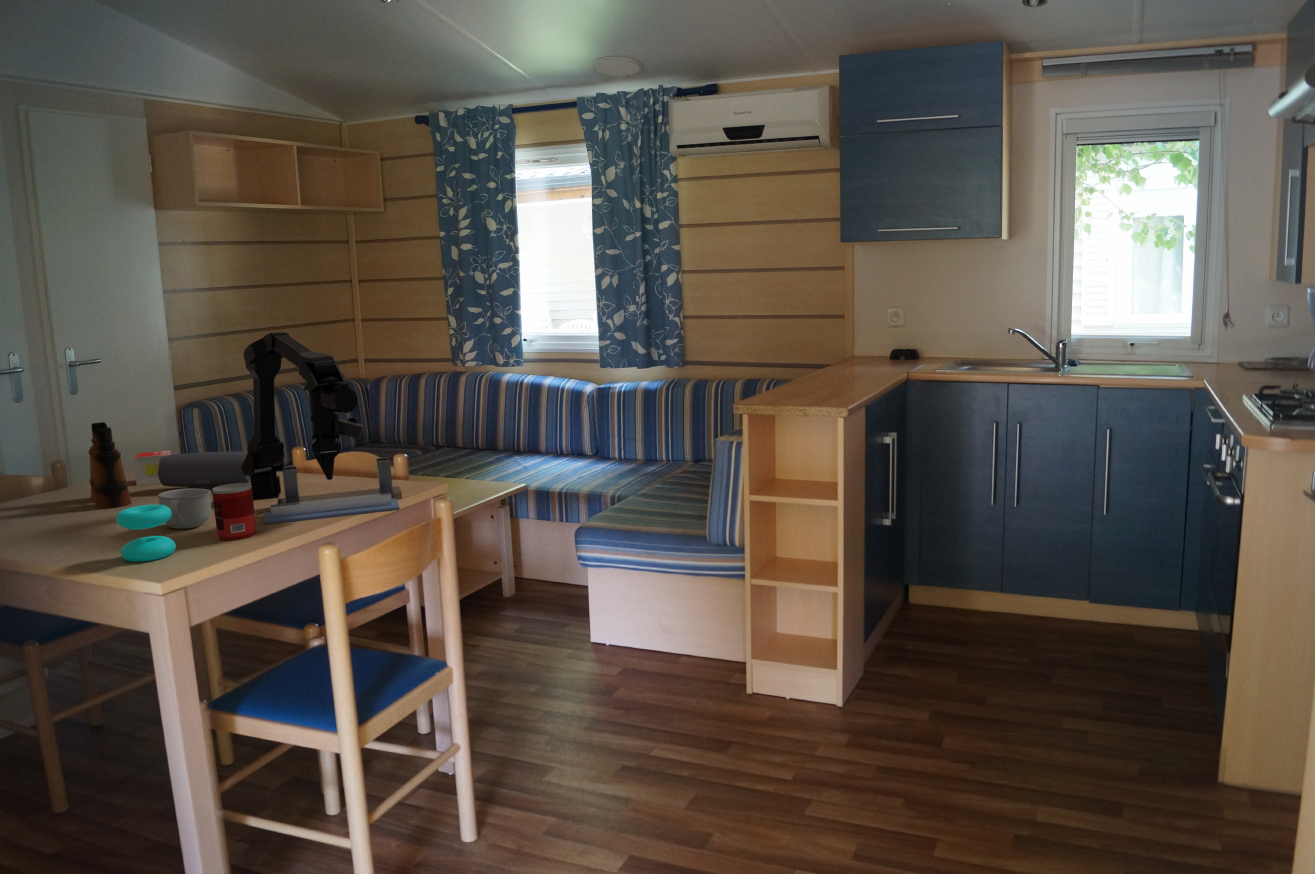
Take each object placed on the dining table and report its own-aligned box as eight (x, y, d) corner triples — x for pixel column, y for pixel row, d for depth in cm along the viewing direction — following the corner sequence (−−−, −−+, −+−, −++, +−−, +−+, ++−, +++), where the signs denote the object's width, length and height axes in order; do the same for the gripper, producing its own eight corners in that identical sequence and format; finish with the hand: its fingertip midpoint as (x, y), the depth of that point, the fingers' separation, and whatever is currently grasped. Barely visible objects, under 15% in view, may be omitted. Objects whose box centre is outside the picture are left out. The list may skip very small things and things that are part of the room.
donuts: (181, 503, 202) (147, 515, 192) (187, 549, 204) (153, 564, 194) (139, 502, 204) (103, 514, 194) (145, 549, 206) (110, 563, 196)
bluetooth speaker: (258, 482, 270) (254, 447, 268) (245, 490, 261) (241, 453, 259) (175, 486, 269) (171, 450, 268) (159, 494, 260) (154, 457, 258)
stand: (277, 511, 234) (273, 472, 233) (278, 504, 242) (274, 466, 240) (402, 498, 243) (398, 460, 242) (399, 491, 251) (396, 455, 249)
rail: (271, 517, 226) (270, 507, 226) (271, 515, 229) (270, 505, 228) (391, 504, 235) (391, 494, 234) (391, 502, 237) (390, 492, 237)
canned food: (264, 532, 216) (259, 483, 214) (238, 541, 208) (232, 491, 207) (236, 530, 218) (230, 482, 216) (209, 540, 211) (203, 490, 209)
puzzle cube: (136, 485, 273) (132, 457, 272) (143, 479, 281) (140, 452, 279) (167, 482, 275) (164, 455, 274) (174, 477, 282) (170, 450, 281)
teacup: (177, 520, 230) (173, 487, 228) (222, 519, 229) (218, 485, 228) (145, 536, 216) (140, 501, 215) (193, 535, 216) (188, 499, 214)
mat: (263, 524, 222) (263, 522, 222) (265, 514, 232) (265, 512, 232) (399, 509, 232) (399, 506, 232) (396, 500, 241) (396, 498, 241)
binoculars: (89, 498, 258) (79, 423, 255) (124, 493, 263) (114, 419, 260) (96, 510, 243) (85, 431, 240) (133, 505, 248) (123, 427, 245)
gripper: (360, 412, 221) (367, 479, 224) (357, 402, 239) (363, 465, 241) (308, 416, 218) (315, 485, 220) (309, 406, 235) (316, 470, 238)
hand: (329, 476), depth 230 cm, fingers open, 9 cm apart
